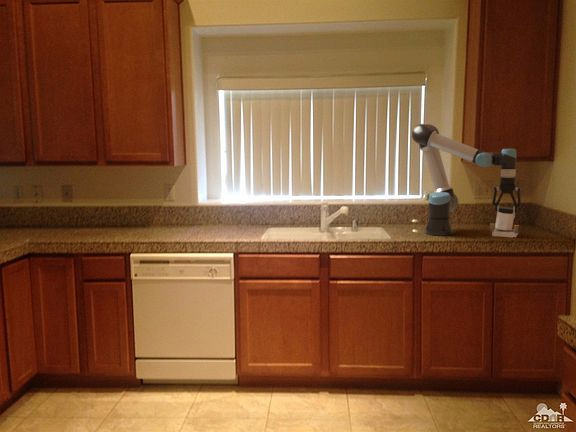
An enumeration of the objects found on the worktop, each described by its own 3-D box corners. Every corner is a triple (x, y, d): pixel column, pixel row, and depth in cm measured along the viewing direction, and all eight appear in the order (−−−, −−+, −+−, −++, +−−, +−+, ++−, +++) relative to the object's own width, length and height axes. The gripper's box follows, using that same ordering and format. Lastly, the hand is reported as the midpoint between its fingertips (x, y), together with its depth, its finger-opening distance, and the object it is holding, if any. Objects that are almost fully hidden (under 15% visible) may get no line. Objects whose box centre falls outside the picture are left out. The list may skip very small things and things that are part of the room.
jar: (493, 228, 283) (496, 207, 281) (496, 226, 290) (499, 206, 287) (510, 231, 278) (513, 210, 276) (513, 229, 285) (516, 208, 282)
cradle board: (489, 235, 282) (489, 224, 281) (493, 231, 295) (494, 220, 294) (517, 237, 275) (518, 226, 274) (521, 233, 288) (521, 222, 287)
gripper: (487, 176, 281) (485, 217, 284) (527, 177, 271) (524, 219, 274) (489, 176, 287) (487, 215, 291) (528, 176, 277) (526, 218, 280)
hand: (505, 217), depth 282 cm, fingers closed on jar, 7 cm apart
